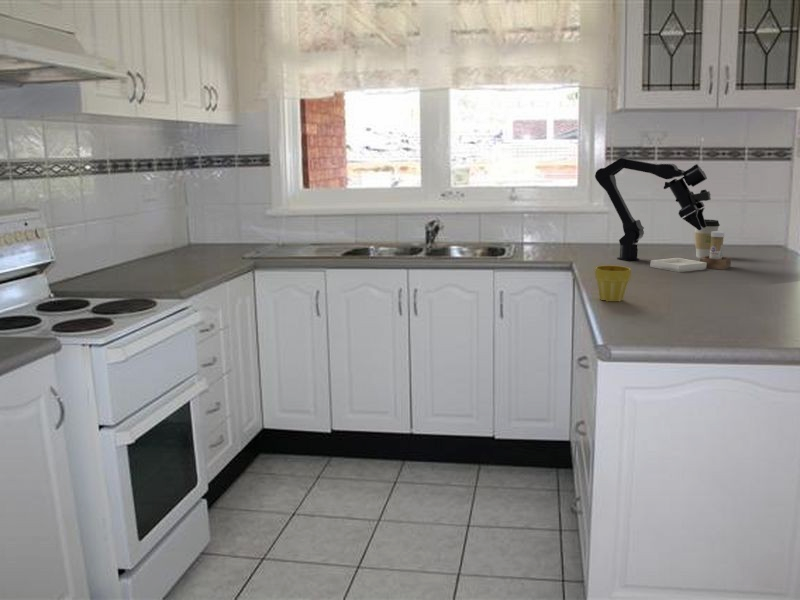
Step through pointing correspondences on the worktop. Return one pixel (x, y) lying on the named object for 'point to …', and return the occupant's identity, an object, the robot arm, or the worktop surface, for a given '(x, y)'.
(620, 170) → the robot arm
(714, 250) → the sprinkles bottle
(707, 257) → the walnut holder
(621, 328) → the worktop surface
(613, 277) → the plant pot
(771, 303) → the worktop surface
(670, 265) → the cream tray
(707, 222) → the coffee cup
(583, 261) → the worktop surface
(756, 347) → the worktop surface
